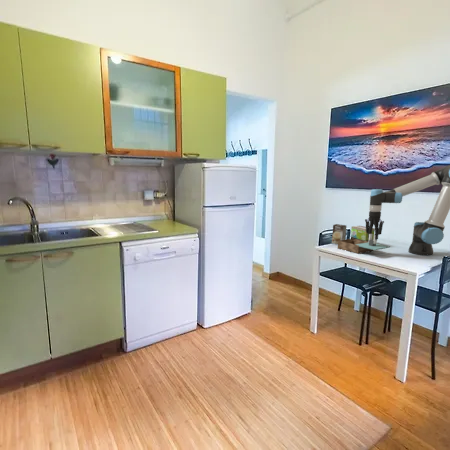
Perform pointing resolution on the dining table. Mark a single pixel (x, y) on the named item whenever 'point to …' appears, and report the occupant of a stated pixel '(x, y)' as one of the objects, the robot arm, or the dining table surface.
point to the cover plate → (378, 246)
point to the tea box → (360, 233)
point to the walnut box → (352, 246)
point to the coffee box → (338, 233)
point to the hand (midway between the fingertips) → (372, 243)
